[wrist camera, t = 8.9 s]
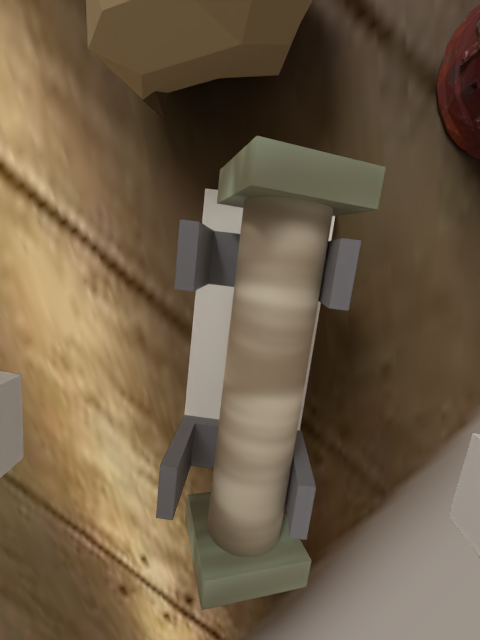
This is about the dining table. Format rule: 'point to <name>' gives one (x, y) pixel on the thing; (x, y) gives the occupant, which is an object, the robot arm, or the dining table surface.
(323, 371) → the dining table surface
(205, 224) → the bracket
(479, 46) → the lantern
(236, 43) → the low-poly potato
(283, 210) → the column
